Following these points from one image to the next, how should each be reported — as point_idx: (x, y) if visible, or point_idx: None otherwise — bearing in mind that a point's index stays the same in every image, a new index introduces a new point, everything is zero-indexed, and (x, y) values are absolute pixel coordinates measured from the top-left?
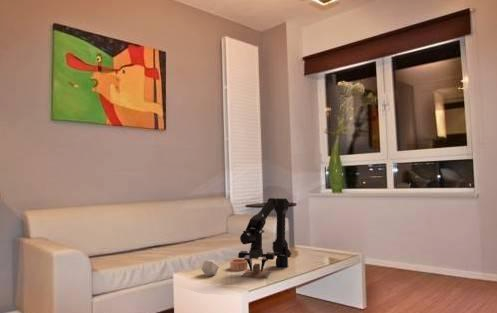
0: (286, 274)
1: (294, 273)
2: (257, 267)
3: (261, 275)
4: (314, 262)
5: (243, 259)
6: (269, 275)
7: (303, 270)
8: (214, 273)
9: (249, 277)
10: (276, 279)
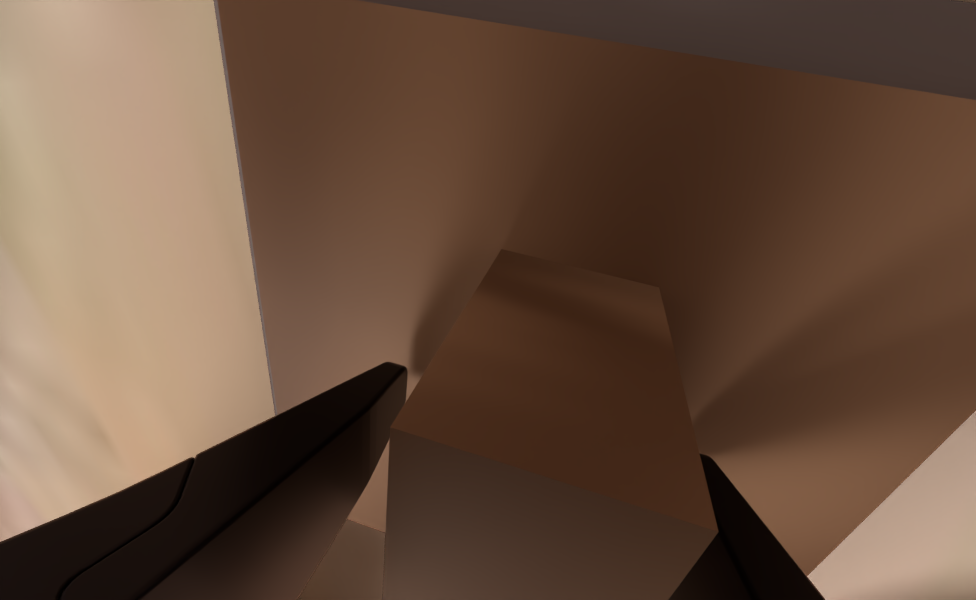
0: (91, 381)
1: (36, 411)
2: (431, 378)
3: (363, 65)
4: None
5: None
6: (257, 284)
7: (29, 496)
8: None
9: (840, 14)
10: (68, 33)
